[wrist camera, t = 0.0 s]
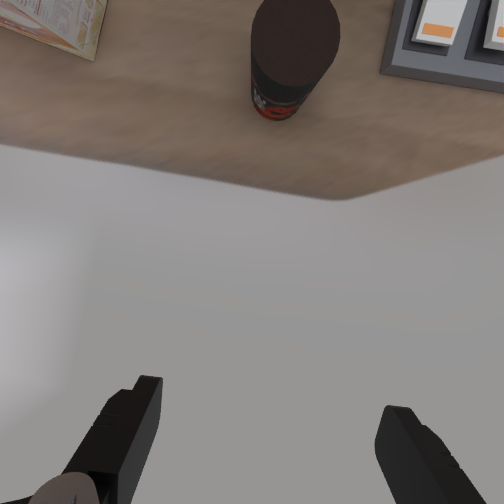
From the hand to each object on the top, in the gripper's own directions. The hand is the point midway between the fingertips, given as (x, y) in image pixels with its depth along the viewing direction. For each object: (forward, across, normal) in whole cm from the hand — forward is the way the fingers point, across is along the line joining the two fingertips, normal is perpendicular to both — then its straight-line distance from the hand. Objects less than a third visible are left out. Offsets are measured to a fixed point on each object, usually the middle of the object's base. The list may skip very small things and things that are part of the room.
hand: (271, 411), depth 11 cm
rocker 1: (+25, -14, -26) cm, 39 cm away
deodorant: (+29, 0, -17) cm, 34 cm away
